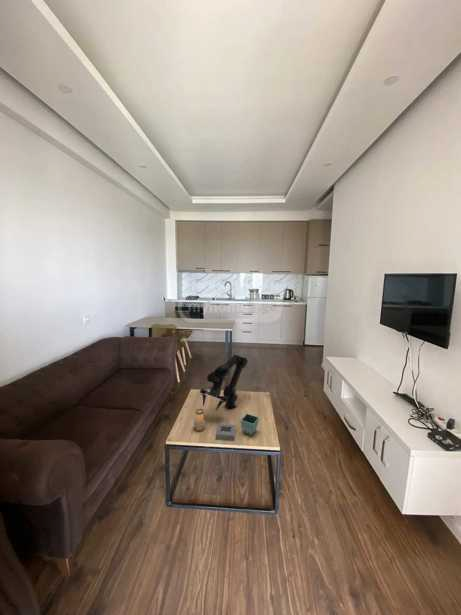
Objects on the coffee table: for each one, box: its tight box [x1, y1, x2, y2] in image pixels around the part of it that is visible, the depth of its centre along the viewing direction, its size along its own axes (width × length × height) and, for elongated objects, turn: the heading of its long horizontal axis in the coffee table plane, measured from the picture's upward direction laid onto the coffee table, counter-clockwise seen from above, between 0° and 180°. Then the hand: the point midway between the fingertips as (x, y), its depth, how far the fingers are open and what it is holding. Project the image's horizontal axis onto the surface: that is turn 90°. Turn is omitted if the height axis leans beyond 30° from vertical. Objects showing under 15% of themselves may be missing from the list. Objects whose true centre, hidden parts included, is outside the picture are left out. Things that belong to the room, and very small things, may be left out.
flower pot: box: [240, 413, 260, 436], centre depth 157 cm, size 9×9×9 cm
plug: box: [193, 408, 206, 432], centre depth 160 cm, size 7×7×12 cm
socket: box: [215, 423, 236, 441], centre depth 155 cm, size 11×11×3 cm
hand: (209, 408), depth 167 cm, fingers open, 9 cm apart
